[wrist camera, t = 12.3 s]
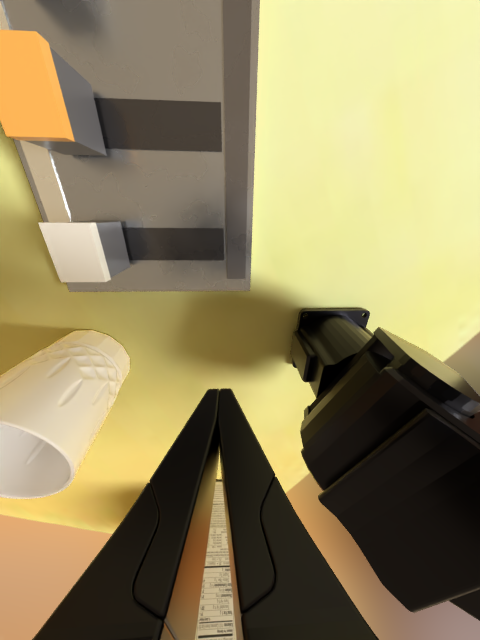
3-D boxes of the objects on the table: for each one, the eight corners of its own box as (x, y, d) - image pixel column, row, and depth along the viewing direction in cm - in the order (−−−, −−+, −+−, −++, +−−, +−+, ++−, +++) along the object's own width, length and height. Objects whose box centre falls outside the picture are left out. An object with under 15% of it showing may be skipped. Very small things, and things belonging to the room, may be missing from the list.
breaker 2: (121, 220, 14) (89, 222, 11) (131, 267, 15) (105, 282, 12) (81, 220, 14) (38, 222, 11) (95, 267, 15) (60, 282, 12)
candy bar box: (229, 514, 37) (230, 711, 22) (200, 514, 37) (181, 715, 22) (236, 478, 32) (242, 701, 17) (202, 478, 32) (180, 706, 17)
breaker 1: (91, 83, 11) (36, 31, 8) (107, 156, 13) (65, 137, 9) (41, 81, 11) (-35, 27, 8) (63, 155, 12) (6, 136, 9)
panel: (261, -153, 9) (267, -218, 8) (248, 285, 18) (250, 291, 17) (-78, -184, 9) (-137, -261, 7) (81, 285, 18) (68, 292, 16)
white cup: (33, 334, 20) (-129, 435, 11) (112, 314, 19) (11, 403, 10) (82, 394, 23) (-9, 507, 14) (150, 378, 23) (99, 486, 14)
